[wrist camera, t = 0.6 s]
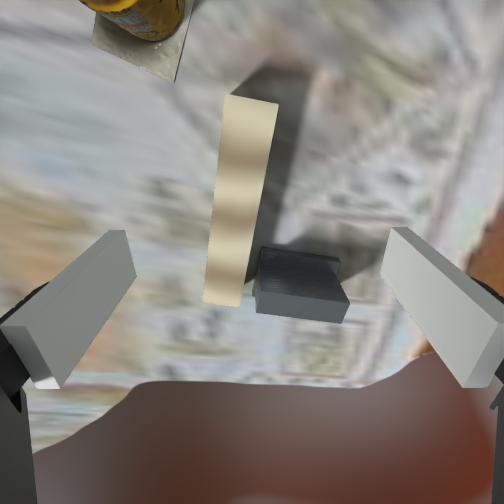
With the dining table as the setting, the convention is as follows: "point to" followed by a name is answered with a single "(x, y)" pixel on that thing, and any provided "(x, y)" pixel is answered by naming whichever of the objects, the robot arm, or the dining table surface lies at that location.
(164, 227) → the dining table surface
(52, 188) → the dining table surface
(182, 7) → the condiment
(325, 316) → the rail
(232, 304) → the bar
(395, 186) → the dining table surface
